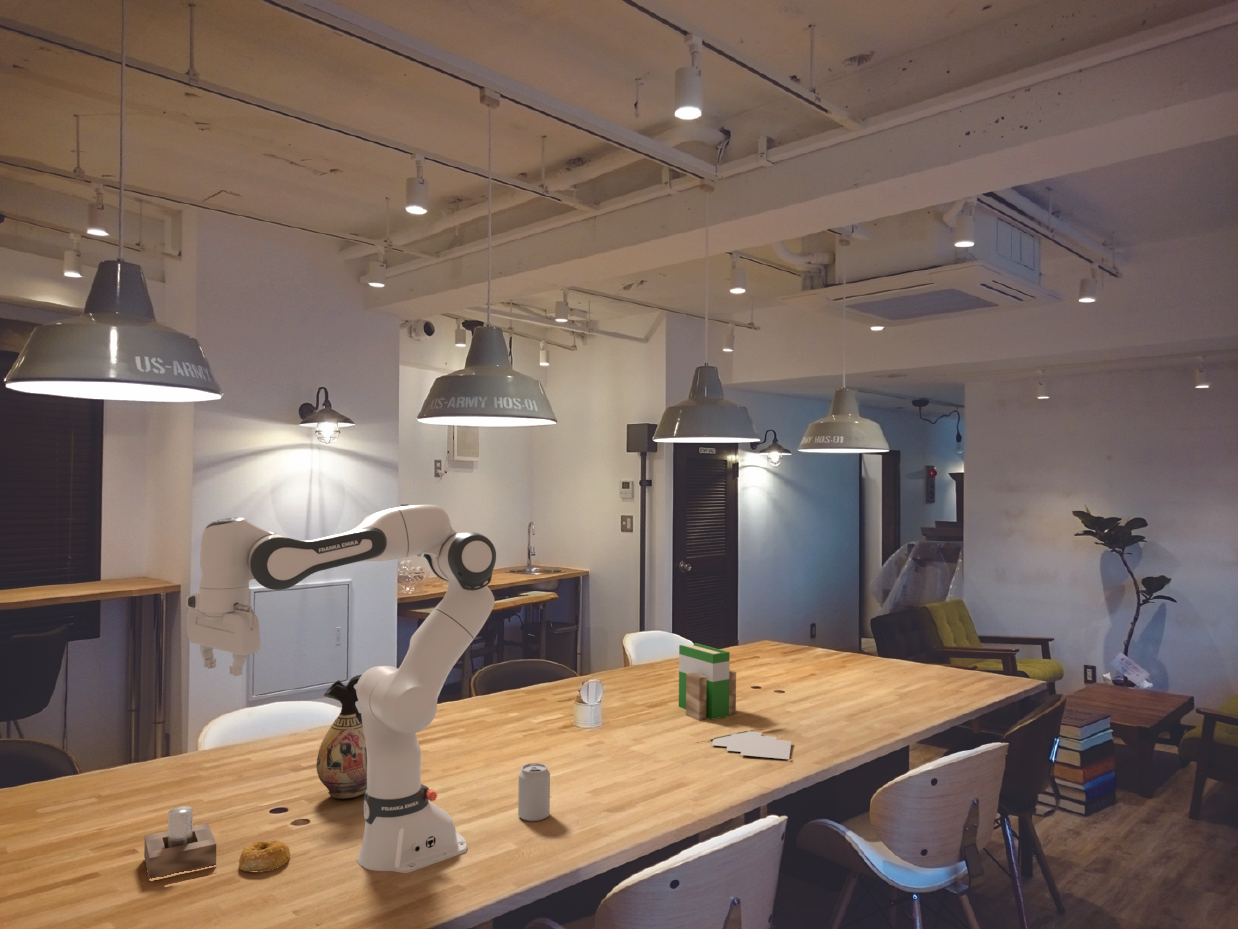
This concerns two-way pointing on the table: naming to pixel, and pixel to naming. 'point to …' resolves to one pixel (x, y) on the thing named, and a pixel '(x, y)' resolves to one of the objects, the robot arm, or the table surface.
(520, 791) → the can
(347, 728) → the ceramic jug
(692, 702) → the bookend near
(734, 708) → the bookend far
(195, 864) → the pocket block
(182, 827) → the part
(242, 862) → the bagel
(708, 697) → the hardback book
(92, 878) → the table surface
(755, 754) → the paper stack
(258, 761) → the table surface
